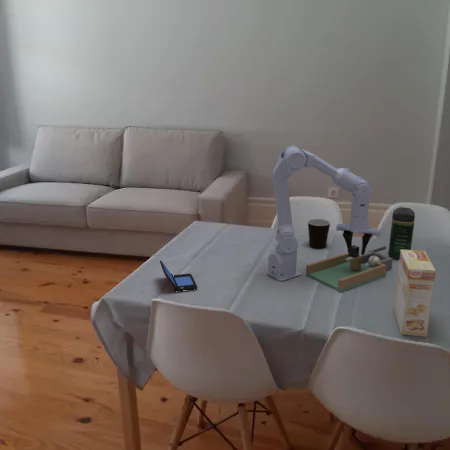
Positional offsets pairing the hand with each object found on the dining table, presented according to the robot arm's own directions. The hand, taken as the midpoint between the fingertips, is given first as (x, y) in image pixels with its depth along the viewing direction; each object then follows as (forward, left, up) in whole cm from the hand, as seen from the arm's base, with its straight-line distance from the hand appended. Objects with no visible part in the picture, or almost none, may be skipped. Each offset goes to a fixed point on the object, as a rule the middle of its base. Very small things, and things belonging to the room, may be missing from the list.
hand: (356, 252), depth 178 cm
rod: (+5, 0, -6) cm, 8 cm away
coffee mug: (+9, +27, -8) cm, 30 cm away
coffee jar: (+25, +1, -8) cm, 27 cm away
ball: (+10, 0, -6) cm, 11 cm away
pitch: (-1, 0, -8) cm, 8 cm away
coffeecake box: (-14, -33, -8) cm, 37 cm away
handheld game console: (-55, +27, -8) cm, 62 cm away
